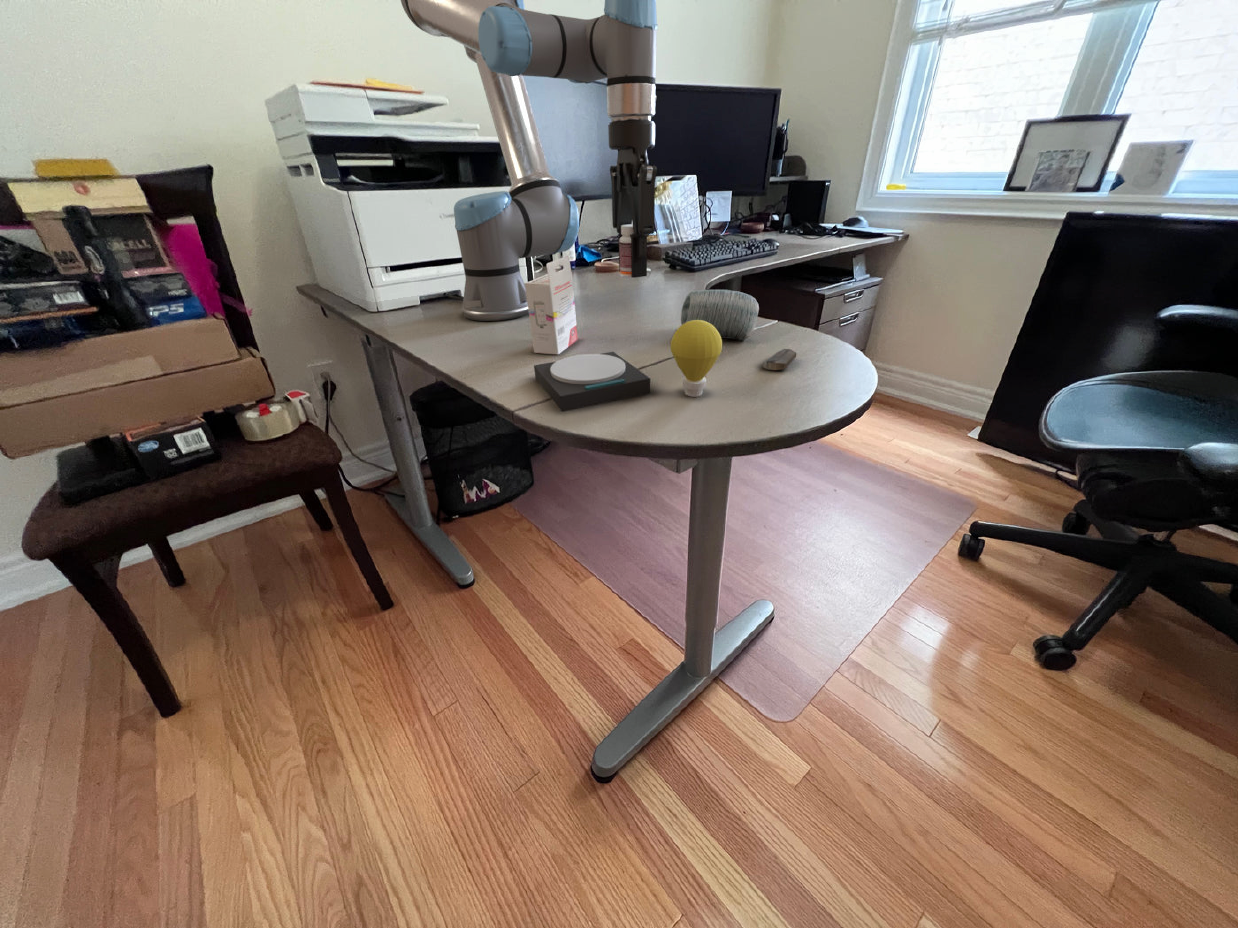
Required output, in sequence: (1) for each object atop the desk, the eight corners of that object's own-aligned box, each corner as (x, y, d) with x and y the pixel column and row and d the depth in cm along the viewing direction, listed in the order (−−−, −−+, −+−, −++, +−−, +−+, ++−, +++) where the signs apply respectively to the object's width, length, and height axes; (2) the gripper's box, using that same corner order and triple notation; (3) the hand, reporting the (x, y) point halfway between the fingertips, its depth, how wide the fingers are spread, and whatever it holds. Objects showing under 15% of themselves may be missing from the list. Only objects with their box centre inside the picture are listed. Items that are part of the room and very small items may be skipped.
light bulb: (660, 390, 69) (661, 319, 64) (698, 380, 72) (702, 311, 67) (688, 407, 64) (692, 331, 59) (728, 396, 67) (735, 322, 62)
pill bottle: (643, 278, 88) (643, 227, 84) (617, 278, 89) (616, 227, 85) (647, 273, 92) (647, 223, 88) (622, 272, 93) (621, 223, 89)
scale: (535, 379, 74) (533, 361, 73) (614, 364, 79) (613, 347, 77) (561, 411, 64) (559, 391, 63) (650, 393, 68) (650, 374, 67)
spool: (665, 322, 87) (690, 267, 84) (681, 333, 95) (704, 283, 93) (734, 351, 82) (762, 294, 80) (744, 360, 91) (770, 308, 88)
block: (796, 361, 77) (798, 350, 76) (783, 373, 73) (785, 361, 72) (774, 357, 79) (775, 346, 78) (760, 368, 75) (761, 357, 74)
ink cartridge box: (554, 338, 92) (545, 254, 84) (578, 340, 90) (571, 254, 83) (532, 353, 85) (520, 262, 77) (558, 355, 83) (548, 263, 76)
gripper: (680, 116, 72) (674, 280, 85) (629, 123, 86) (630, 264, 99) (634, 115, 70) (634, 285, 82) (589, 123, 84) (596, 268, 96)
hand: (632, 273), depth 90 cm, fingers closed on pill bottle, 5 cm apart
